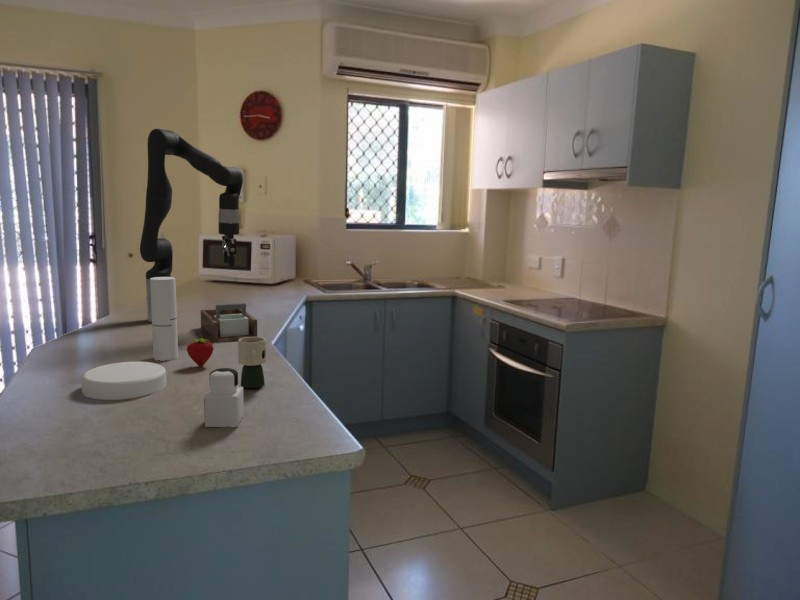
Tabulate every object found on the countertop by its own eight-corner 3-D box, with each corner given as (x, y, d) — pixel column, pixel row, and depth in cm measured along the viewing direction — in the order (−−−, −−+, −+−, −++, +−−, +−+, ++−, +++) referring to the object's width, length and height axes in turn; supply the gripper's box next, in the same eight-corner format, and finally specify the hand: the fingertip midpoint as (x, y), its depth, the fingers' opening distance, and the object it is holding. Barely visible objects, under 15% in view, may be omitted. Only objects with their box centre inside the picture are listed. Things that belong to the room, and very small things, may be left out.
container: (108, 375, 160) (107, 359, 159) (179, 378, 159) (178, 362, 158) (64, 399, 140) (63, 381, 139) (145, 402, 139) (144, 384, 139)
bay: (214, 342, 199) (214, 323, 197) (201, 327, 221) (200, 310, 220) (257, 338, 206) (257, 319, 205) (240, 324, 228) (239, 307, 227)
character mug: (268, 392, 149) (267, 343, 147) (239, 394, 146) (239, 345, 144) (264, 379, 159) (264, 334, 157) (238, 381, 157) (237, 335, 155)
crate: (219, 337, 202) (219, 307, 200) (214, 331, 210) (213, 302, 209) (249, 334, 207) (248, 305, 205) (242, 329, 215) (241, 301, 214)
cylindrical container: (183, 356, 180) (180, 278, 176) (165, 361, 173) (162, 280, 169) (166, 353, 183) (163, 276, 179) (148, 358, 176) (144, 278, 172)
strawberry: (187, 364, 171) (186, 332, 170) (213, 362, 174) (212, 330, 172) (187, 370, 166) (186, 336, 164) (214, 368, 168) (213, 335, 167)
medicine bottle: (212, 416, 131) (211, 365, 129) (244, 416, 132) (243, 365, 130) (204, 428, 124) (203, 374, 122) (237, 427, 125) (237, 375, 123)
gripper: (215, 220, 217) (215, 262, 220) (222, 222, 205) (222, 267, 208) (235, 220, 221) (235, 262, 224) (243, 223, 208) (243, 267, 211)
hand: (229, 264), depth 216 cm, fingers open, 8 cm apart
